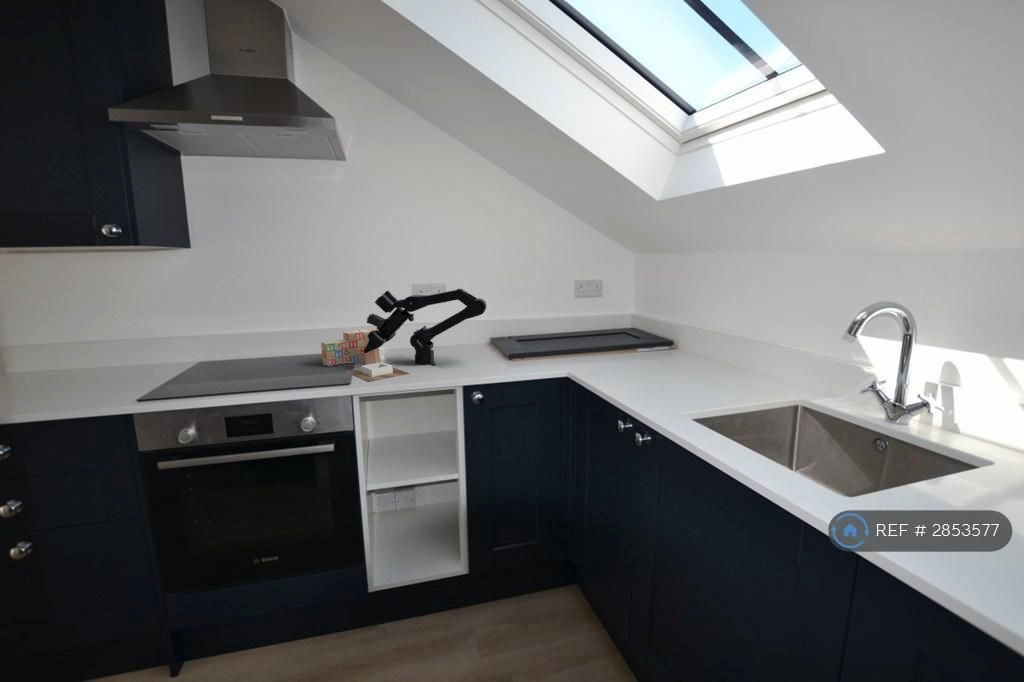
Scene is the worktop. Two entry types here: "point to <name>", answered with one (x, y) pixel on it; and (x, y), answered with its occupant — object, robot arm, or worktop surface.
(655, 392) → the worktop surface
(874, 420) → the worktop surface
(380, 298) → the robot arm
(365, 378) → the walnut board
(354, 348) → the stack of blocks
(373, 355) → the terracotta pillar
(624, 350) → the worktop surface
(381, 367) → the white square frame
